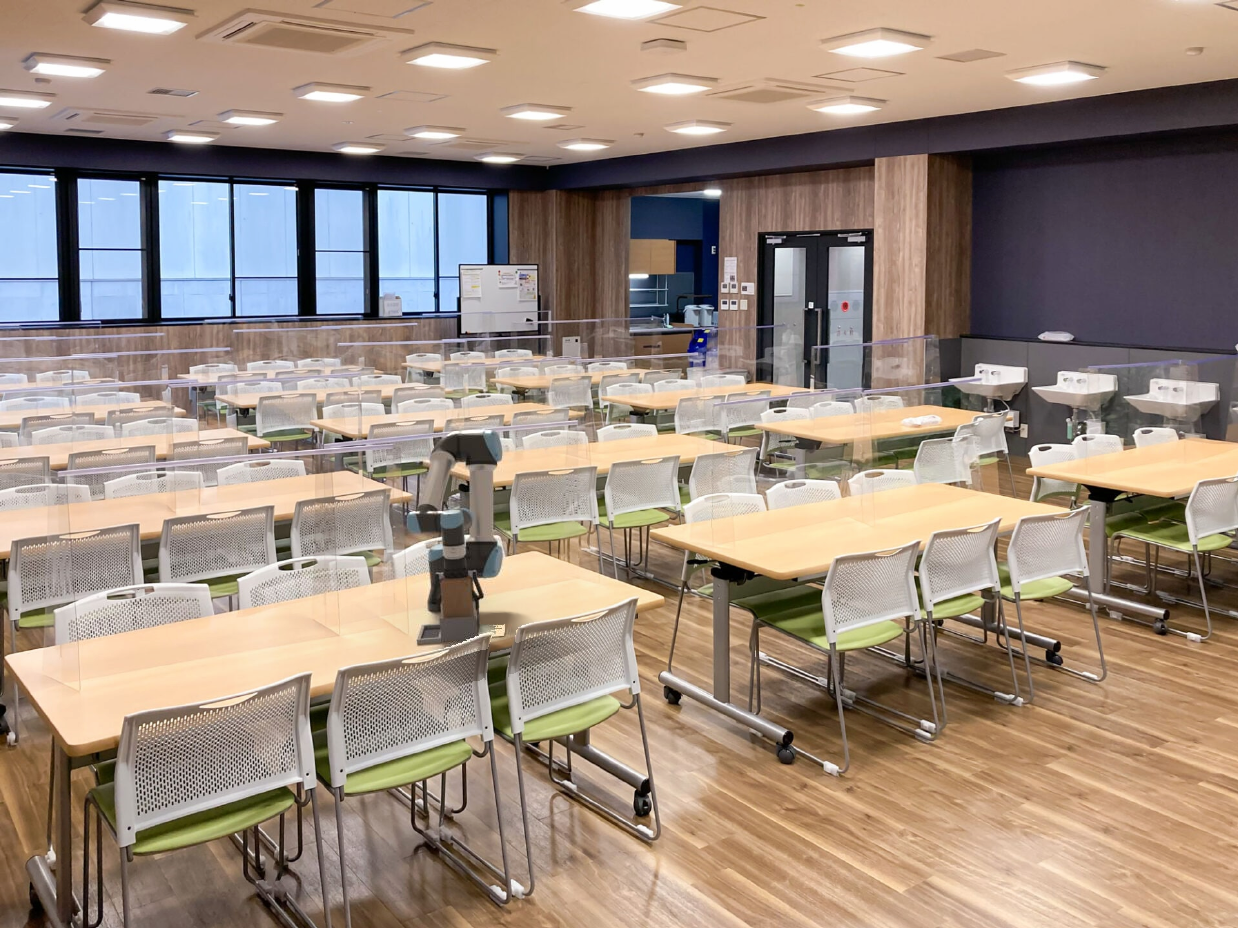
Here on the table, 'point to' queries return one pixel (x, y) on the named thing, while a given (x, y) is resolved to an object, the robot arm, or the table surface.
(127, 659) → the table surface
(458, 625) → the channel
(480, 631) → the pad
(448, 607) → the wooden block
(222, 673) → the table surface
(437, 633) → the pit trap
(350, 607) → the table surface
